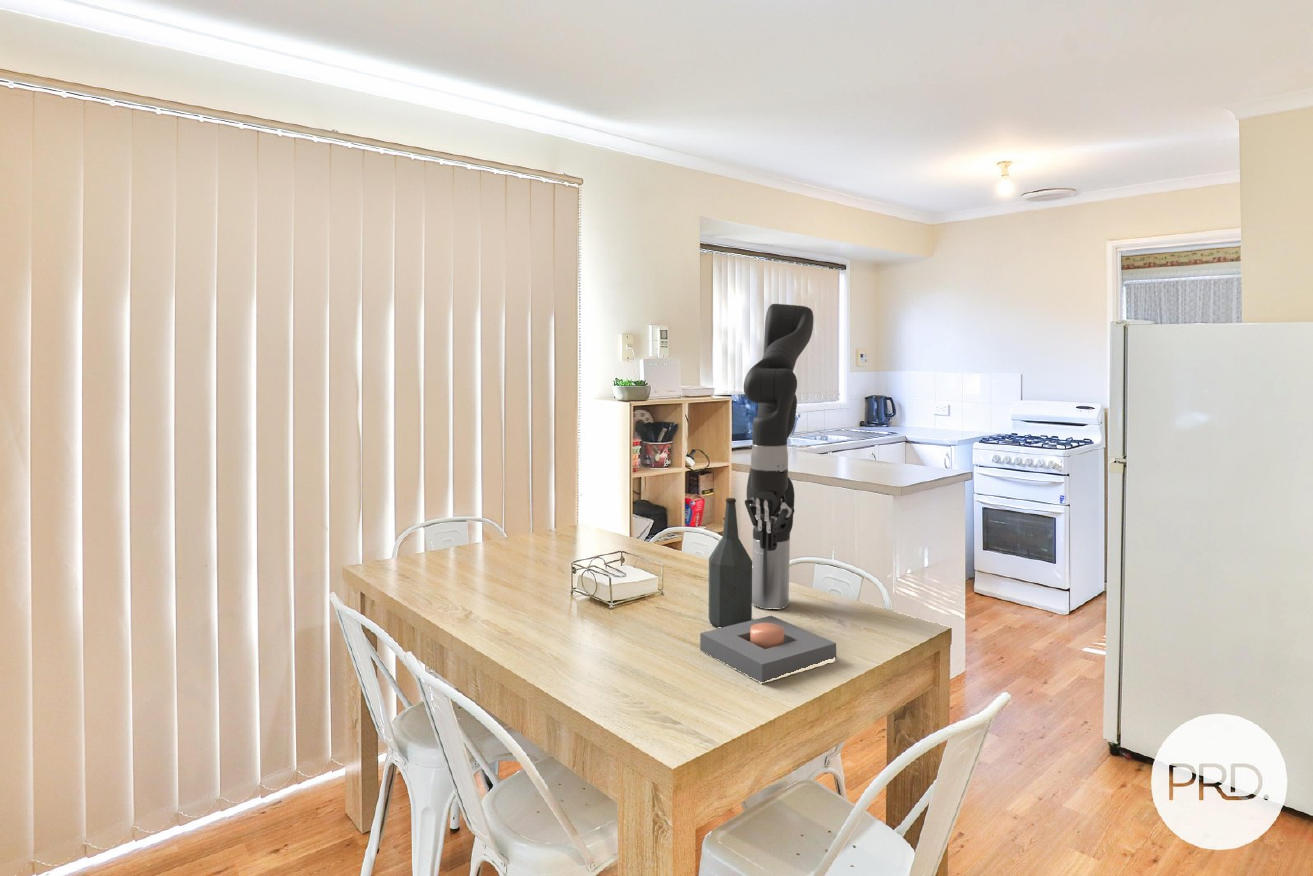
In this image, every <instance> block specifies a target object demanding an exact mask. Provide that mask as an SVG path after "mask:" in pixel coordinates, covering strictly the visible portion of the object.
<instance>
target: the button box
mask: <svg viewBox="0 0 1313 876" xmlns="http://www.w3.org/2000/svg"><path fill="white" fill-rule="evenodd" d="M758 623H773V624H777V625H780V626H782V627H783V628H784V644H782V645H779V646H775V647H771V648H768V649H763V648H761V647H759V646H757V645H755V644H753V643H751V642H750V627H751V626H752V625H754V624H758ZM699 635H700V636H699V637H700V638H699V640H700V642H699V643H700V644H699V646H700V647H699V649H700V650H701V651H703V652H705V653H707V654H708V655H707V654H706V655H707V656H709V655H711V656H712V657H714V658H716V659H719V660H720V661H722V662H724V663H725V664H728V665H729V666H731V667H733V668H736V669H737V670H739V671H741V672H742V673H745V674H747V675H748V676H749V677H752V678H754V679H756V680H758V681H760V682H765V681H767V680H770V679H772V678H777V677H779V676H781V675H784V674H786V673H791V672H794V671H796V670H799V669H801V668H806V667H808V666H810V665H813V664H818V663H820V662H822V661H825V660H828V659H833V658H834V657H836V658H837V642H835V641H833V640H831V639H828V638H825V637H823V636H821V635H818V634H816V633H813V632H812V631H808V630H806V629H804V628H803V627H800V626H797V625H794V624H792V623H790V622H787V621H785V620H783V619H781V618H778V617H775V616H773V615H769V616H764V617H760V618H755V619H752V620H751V621H747V622H743V623H739V624H735V625H731V626H727V627H722V628H714V629H711V630H707V631H702V632H700V633H699ZM701 651H700V652H701ZM703 652H702V653H703ZM705 653H704V654H705ZM712 657H711V658H712ZM714 658H713V659H714ZM716 659H715V660H716ZM720 661H719V662H720ZM725 664H724V665H725ZM729 666H728V667H729ZM731 667H730V668H731ZM742 673H741V674H742ZM749 677H748V678H749Z"/></svg>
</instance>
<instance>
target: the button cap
mask: <svg viewBox="0 0 1313 876" xmlns="http://www.w3.org/2000/svg"><path fill="white" fill-rule="evenodd" d="M750 642H751V643H753V644H755V645H757V646H759V647H761V648H763V649H768V648H771V647H775V646H779V645H782V644H784V628H783V627H782V626H780V625H777V624H773V623H758V624H754V625H752V626H751V627H750Z"/></svg>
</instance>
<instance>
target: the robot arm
mask: <svg viewBox="0 0 1313 876" xmlns="http://www.w3.org/2000/svg"><path fill="white" fill-rule="evenodd" d="M814 318H815V317H814V313H813V310H812V309H811V308H810V307H808V306H805V305H796V304H784V303H772V304H770V305H769V307H768V309H767V311H766V315H765V321H764V333H763V335H764V338H763V339H764V340H763V356H762V359H760V360H759V361H758V362H757V363H755V364H754V365H753V366H752V367H751V368H750V369H749V370H748V372H747V374H746V376H745V377H744V382H743V392H744V395H745V396H746V398H747V399H748V400H749V401H750V402H752V403H755V404H758V405H757V412H756V413H757V415H756V416H755V417H754V418H753V421H752V438H751V439H752V447H751V451H750V452H751V455H750V468H749V473H748V478H747V483H746V499H745V500H744V505H745V508H746V509H747V511H746V512H747V513H748V515H749V516H748V517H749V518H750V521H751V524H752V526H753V529H752V605H753V604H754V605H756V606H758V607H762V608H772V609H773V608H783V607H786V606H787V605H788V604H790V602H789V601H790V553H791V552H790V547H791V546H790V545H791V542H790V540H791V537H790V536H791V531H792V529H793V525H794V514H795V488H794V487H795V486H794V484H793V482H792V480H791V478H790V477H789V451H788V439H789V437H790V436H791V434H792V433H793V430H794V428H795V425H796V416H797V407H798V406H797V405H798V398H797V395H796V392H797V389H798V379H797V377H796V374H795V373H794V369H795V365H796V362H797V360H798V358H799V356H800V355H801V354H802V352H803V351H804V350H805V349H806V347H807V345H808V344H809V342H810V340H811V339H812V334H813V330H814ZM754 605H753V606H754ZM788 606H789V605H788ZM758 607H757V608H758ZM786 608H787V607H786Z"/></svg>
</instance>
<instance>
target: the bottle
mask: <svg viewBox="0 0 1313 876" xmlns="http://www.w3.org/2000/svg"><path fill="white" fill-rule="evenodd" d="M736 503H737V499H736V498H734V497H726V499H725V510H724V511H725V513H724V521H723V530H722V531H723V532H722V537H721V538H720V540H719V542H718V544H717V545H716V546H715V548H714V550H713V551H712V552H711V554H710V556H709V558H708V620H709V623H710V624H712V625H714V626H716V627H715V628H717V627H721V628H722V627H727V626H731V625H735V624H739V623H743V622H747V621H751V620H753V619H752V618H753V617H752V616H753V604H752V565H753V559H751V557H750V555H749V554H748V551H747V549H746V548H745V547H744V544H743V543H742V541H741V540H740V538H739V530H738V529H739V528H738V517H737V508H736ZM712 625H711V626H712ZM714 626H713V627H714Z"/></svg>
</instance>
